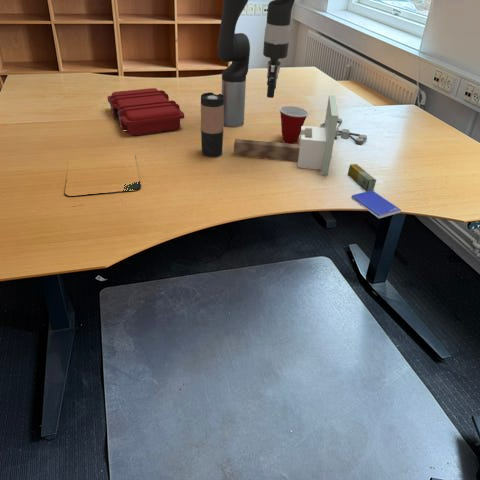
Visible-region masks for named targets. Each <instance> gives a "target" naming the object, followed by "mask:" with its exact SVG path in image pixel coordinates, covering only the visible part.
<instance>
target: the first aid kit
mask: <svg viewBox="0 0 480 480" xmlns="http://www.w3.org/2000/svg"><path fill="white" fill-rule="evenodd" d="M106 99H107V102H108V103H109V105H110V112H111V115H112V116H113V118H114V119H115V120H117V122H118V124H119V127H120V128H121V126H122V128H121V129H122V131H123V130H128V131H127V132H129V134H130V135H132V136H141V135H140V134H143V135H147V134H148V133H150V134H157V133H162V132H163V131H165V132H170V131H171V132H172V131H177V130H179V129H181V120H184V118H185V112H184V111H182V110H181V107H180V105H179V104H178V103H177V102H176V101H175V100H170V98H169V94H167V93H166V91H164V90H163V89H158V88H154V87H152V88H141V89H140V88H139V89H130V90H120V91H119V90H118V91H114V92H112V93H111V95H107V97H106ZM156 132H157V133H156ZM163 133H164V132H163Z"/></svg>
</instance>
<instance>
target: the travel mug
mask: <svg viewBox="0 0 480 480" xmlns="http://www.w3.org/2000/svg"><path fill="white" fill-rule="evenodd" d="M224 126H225V125H224V96H223V95H222V93H219V94H216V93H214V92H209V91H208V92H204V93H202V94H201V95H200V138H201V139H200V141H201V155H203V156H204V157H207V158H217V157H220V156H222V154H223V145H224V142H223V141H224Z"/></svg>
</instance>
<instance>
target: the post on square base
mask: <svg viewBox="0 0 480 480" xmlns="http://www.w3.org/2000/svg"><path fill="white" fill-rule="evenodd" d="M306 138H308V137H306ZM299 149H300V145H299V143H298V144H297V143H295V144H288V143H285V142H276V141H275V142H274V141H266V140H265V141H264V140H262V141H261V140H255V139H254V140H251V139H243V138H242V139H241V138H235V139H234V142H233V156H236V157H246V158H254V157H259V158H258V159H265V158H268V159H267V160H275V159H278V160H279V161H286V160H287V161H289V162H297V163H298V157H299ZM278 160H277V161H278ZM287 161H286V162H287Z"/></svg>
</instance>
